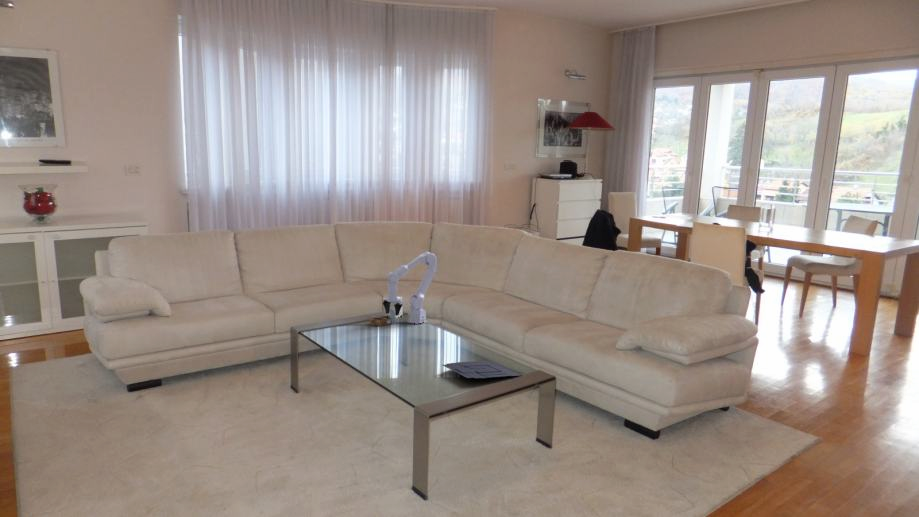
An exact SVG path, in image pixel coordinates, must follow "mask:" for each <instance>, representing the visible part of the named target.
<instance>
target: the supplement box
mask: <svg viewBox="0 0 919 517" xmlns="http://www.w3.org/2000/svg"><path fill="white" fill-rule="evenodd" d="M397 299H398V300H401V301H403V296H397ZM394 304H397V303H392V302H391V304H390V309H395V306H394ZM388 314H390V311H389V313H388ZM401 315H402V316H403V306H402V307H401V309H400V312H399V315H397V316H396V314H395V319H399V318H401V317H400V316H401ZM398 317H399V318H398Z"/></svg>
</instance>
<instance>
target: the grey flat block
mask: <svg viewBox="0 0 919 517" xmlns="http://www.w3.org/2000/svg"><path fill="white" fill-rule="evenodd" d="M442 366H443V367H444V368H447V369H448V370H451V371H453V372H455V373H457V374H459V375H461V376H462V377H464V378H467V379H472V378H473V379H489V378H500V377H508V376H509V377H516V376H522V374H520V373H518V372H515V371H513V370H511V369H508V368H506V367H503V366H502V365H499V364H497V363H496V362H493V361H490V360H486V361H485V360H482V361H481V360H477V361H473V360H472V361H456V362H451V363H446V364H442Z"/></svg>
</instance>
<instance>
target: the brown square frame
mask: <svg viewBox="0 0 919 517" xmlns="http://www.w3.org/2000/svg"><path fill="white" fill-rule="evenodd" d="M368 322H369V324H370V326H374V327H384V326H386V325H388V317H384V316H383V317H382V316H375V317H371V318H369V321H368Z"/></svg>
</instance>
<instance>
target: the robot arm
mask: <svg viewBox="0 0 919 517" xmlns="http://www.w3.org/2000/svg"><path fill="white" fill-rule="evenodd" d="M437 263H438V258H437V256H436V254H435V253H432V252H430V251H424V252H423V253H420V255H418V256H417V257H415V258H414V259H413V260H411V261H410V262H408V263H407V264H406V265H405V264H401V265H399V267H398V268H396V269H393V270H392V271H390V272H389V273H388V274H387V276H386V278H387V297H382V306H383V307H384V310H385V314H386V315H387V314H388V313H389V311H390V304H391V302H392V303H397V304H394V306H395V314H396V316H397V315H399V312H400V309H401V307H402V308H403V304H404V300H402V301H401V300H398V299H397V297H398V290H399V289H398V282H399V280H400V279H401V278H403V277H404V276H405V275H407V274H409V273H410V270H411V269H412V268H414V267H416V266H418V265H419V264H426V266H427V269H426V271H425V273H424V275H423V278H422V280H421V282H420V284H419V286H418V287H417V289H416V291H415V292H414V293H413V294H412V295H411V297H410V298H409V300H408V302H409V305H410V307H409V309H410V310H409V320H407V321H406V323H409V324H410V323H411V324H414V323H415V324H414V325H419V324H418V323H422V322H424V323H422V324H425V323H427V311H426V309H424V308H423V305H424V300H425V295H426V292H427V290H428V289H429V286H430V284H431V283H432V280H433V278H434V276H435V275H436V273H437V269H438V264H437Z"/></svg>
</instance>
